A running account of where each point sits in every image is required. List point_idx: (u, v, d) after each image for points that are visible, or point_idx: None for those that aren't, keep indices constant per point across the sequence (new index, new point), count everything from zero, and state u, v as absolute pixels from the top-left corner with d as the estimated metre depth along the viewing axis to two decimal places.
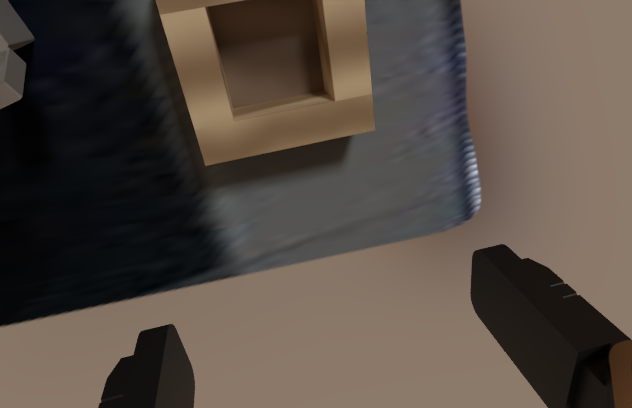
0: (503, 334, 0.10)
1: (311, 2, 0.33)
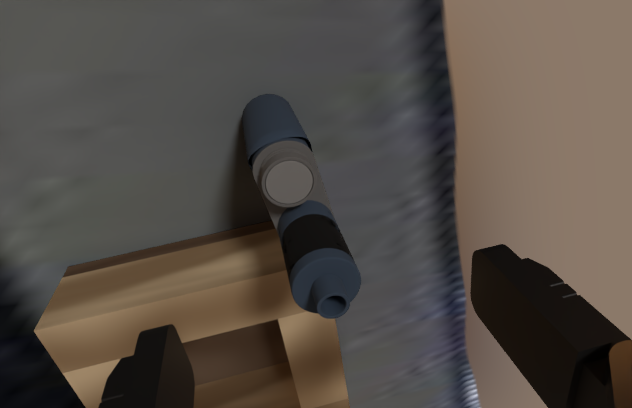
0: (503, 334, 0.10)
1: None
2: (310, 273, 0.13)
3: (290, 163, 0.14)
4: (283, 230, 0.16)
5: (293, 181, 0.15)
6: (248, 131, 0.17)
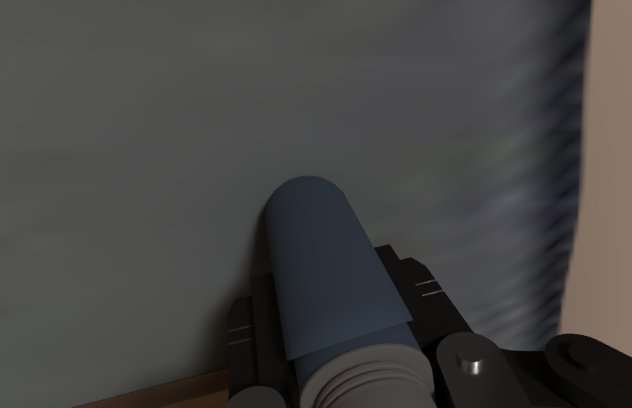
0: None
1: None
2: None
3: None
4: None
5: None
6: (284, 273, 0.09)
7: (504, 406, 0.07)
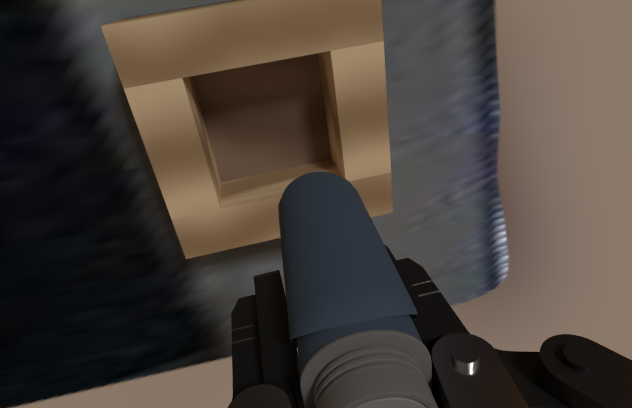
0: None
1: (317, 59, 0.26)
2: None
3: (396, 403, 0.06)
4: None
5: None
6: (295, 258, 0.09)
7: (499, 407, 0.07)
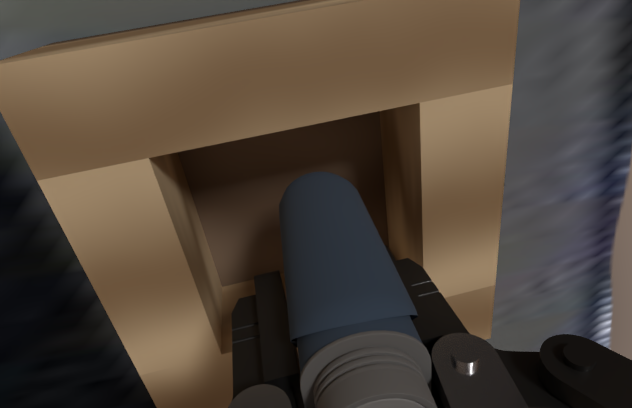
0: None
1: None
2: None
3: (396, 404, 0.06)
4: None
5: None
6: (296, 258, 0.09)
7: (499, 407, 0.07)
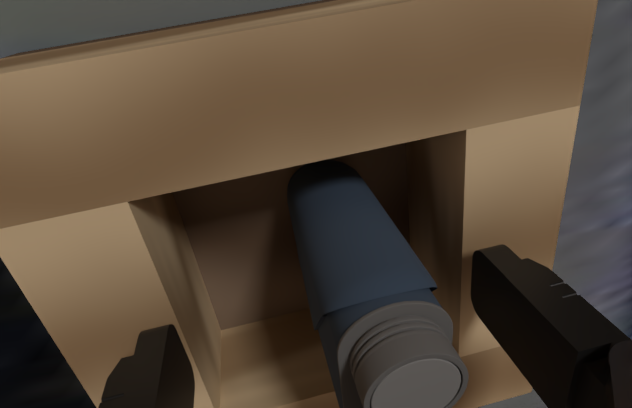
0: (503, 334, 0.10)
1: None
2: None
3: (432, 363, 0.07)
4: None
5: (424, 391, 0.07)
6: (318, 240, 0.10)
7: None
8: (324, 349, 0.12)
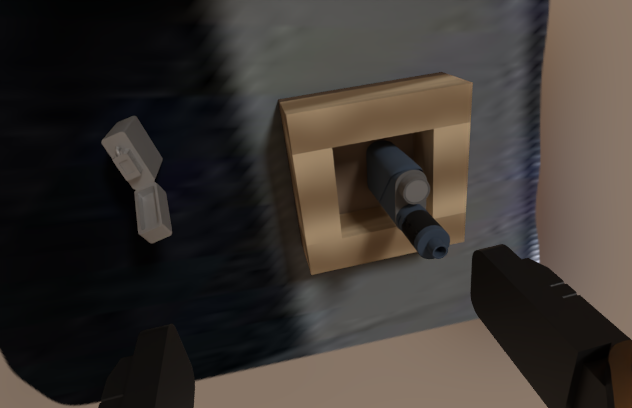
0: (503, 334, 0.10)
1: None
2: (429, 235, 0.27)
3: (420, 181, 0.29)
4: (405, 216, 0.30)
5: (418, 191, 0.29)
6: (385, 160, 0.32)
7: None
8: (384, 203, 0.33)
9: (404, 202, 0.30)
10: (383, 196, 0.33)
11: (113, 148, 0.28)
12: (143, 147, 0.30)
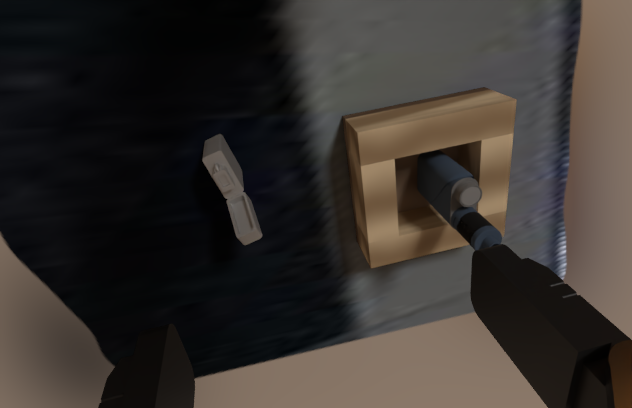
0: (503, 334, 0.10)
1: None
2: (485, 234, 0.32)
3: (474, 188, 0.33)
4: (460, 217, 0.34)
5: (472, 196, 0.34)
6: (440, 168, 0.36)
7: None
8: (437, 205, 0.38)
9: (458, 205, 0.35)
10: (436, 199, 0.38)
11: (211, 164, 0.33)
12: (231, 162, 0.35)
